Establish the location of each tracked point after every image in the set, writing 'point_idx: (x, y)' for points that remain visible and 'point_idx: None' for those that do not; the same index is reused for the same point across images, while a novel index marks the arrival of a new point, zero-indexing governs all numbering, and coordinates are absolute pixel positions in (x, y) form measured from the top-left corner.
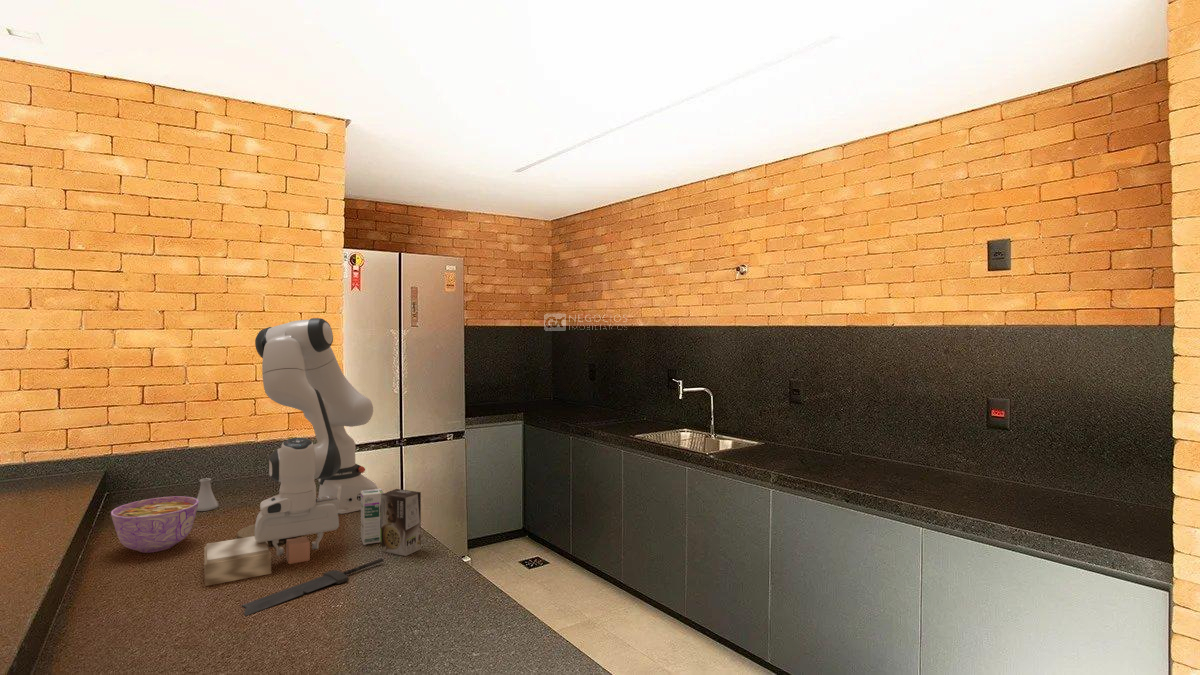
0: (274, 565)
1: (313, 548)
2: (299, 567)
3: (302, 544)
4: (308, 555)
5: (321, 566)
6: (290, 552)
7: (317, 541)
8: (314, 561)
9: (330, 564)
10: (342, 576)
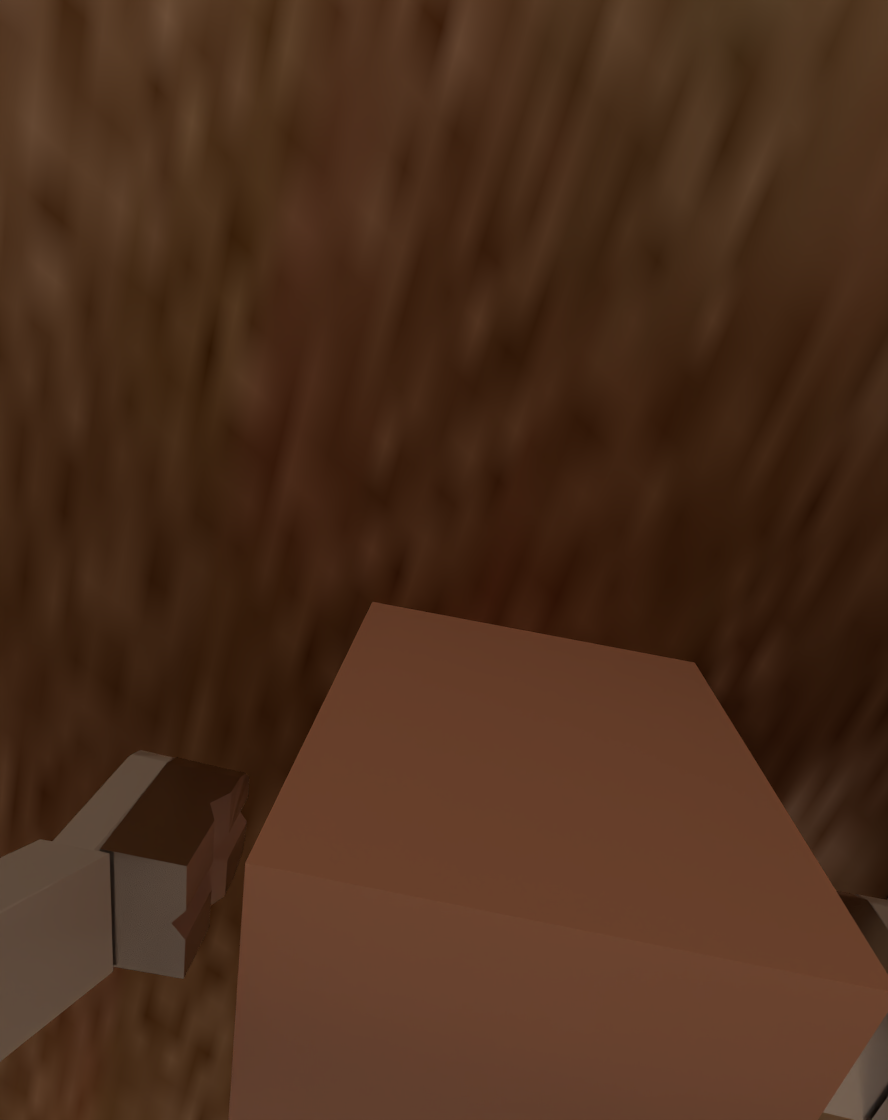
0: (879, 755)
1: (227, 779)
2: (635, 375)
3: (471, 871)
4: (375, 645)
5: (281, 101)
6: (746, 798)
7: (55, 874)
8: (324, 490)
9: (100, 88)
10: None
